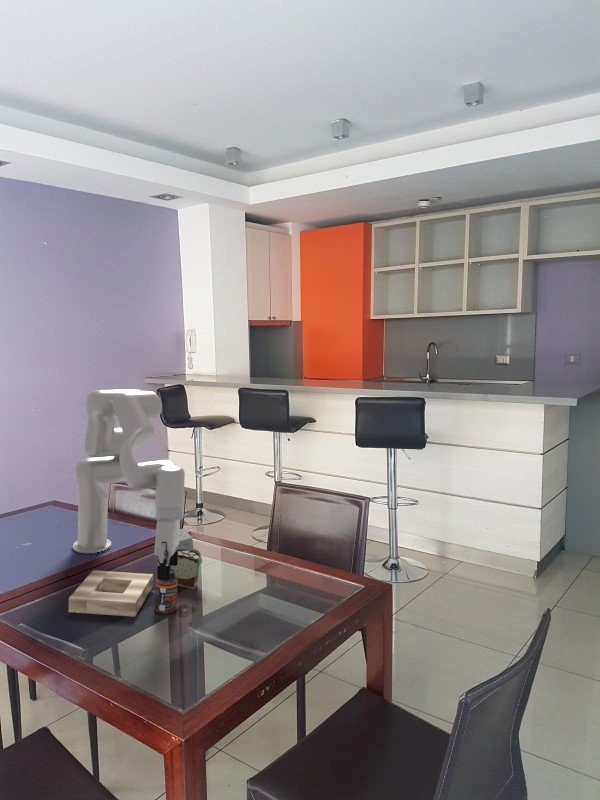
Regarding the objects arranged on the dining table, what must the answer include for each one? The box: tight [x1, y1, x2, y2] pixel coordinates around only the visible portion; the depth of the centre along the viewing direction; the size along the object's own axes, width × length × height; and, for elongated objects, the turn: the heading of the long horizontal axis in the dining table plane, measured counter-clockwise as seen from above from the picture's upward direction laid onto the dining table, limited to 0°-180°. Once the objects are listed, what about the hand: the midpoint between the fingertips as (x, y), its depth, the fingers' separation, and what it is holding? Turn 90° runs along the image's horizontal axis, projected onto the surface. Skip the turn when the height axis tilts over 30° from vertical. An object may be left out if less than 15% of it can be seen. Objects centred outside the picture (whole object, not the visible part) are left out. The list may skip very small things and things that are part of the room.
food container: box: [165, 547, 203, 590], centre depth 180 cm, size 12×6×10 cm, turn 71°
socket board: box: [68, 569, 154, 617], centre depth 167 cm, size 18×18×4 cm
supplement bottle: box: [154, 568, 179, 615], centre depth 162 cm, size 6×6×11 cm
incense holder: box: [178, 528, 194, 549], centre depth 193 cm, size 10×8×10 cm
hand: (167, 572), depth 161 cm, fingers open, 9 cm apart
